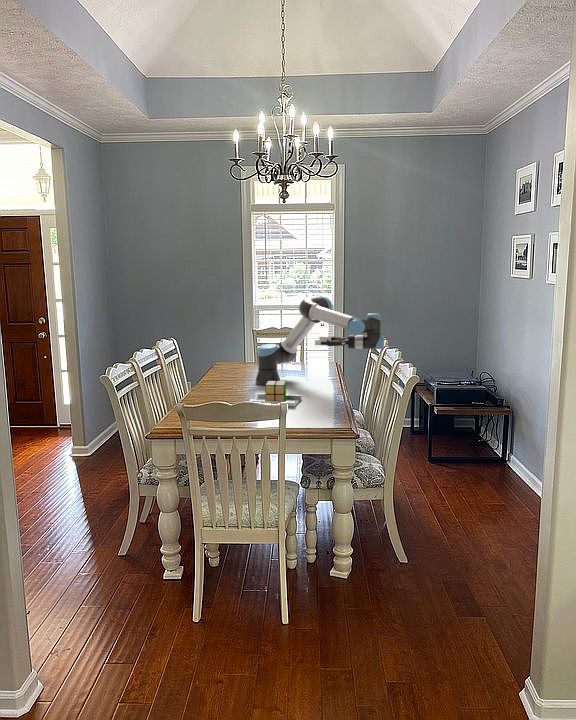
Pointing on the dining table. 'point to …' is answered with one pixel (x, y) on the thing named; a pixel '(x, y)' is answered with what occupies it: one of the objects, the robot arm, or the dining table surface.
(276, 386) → the puzzle cube
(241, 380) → the dining table surface
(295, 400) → the rail base
